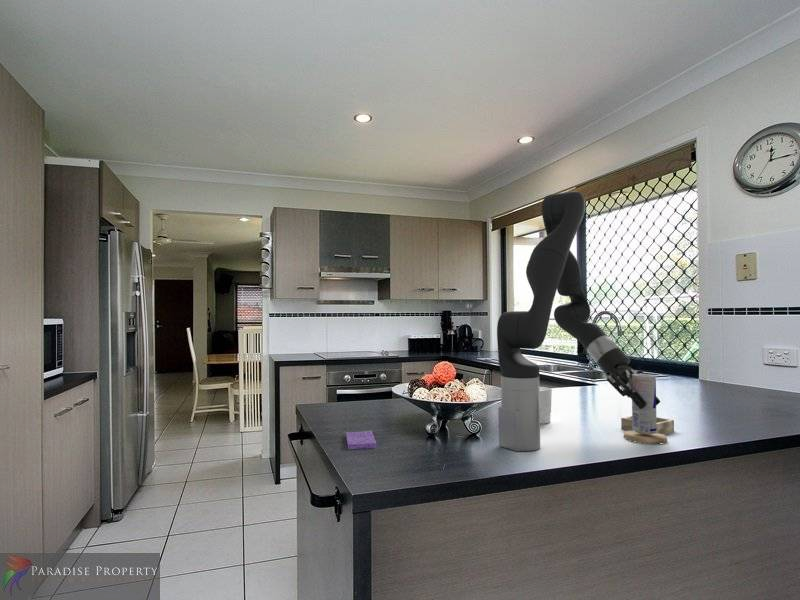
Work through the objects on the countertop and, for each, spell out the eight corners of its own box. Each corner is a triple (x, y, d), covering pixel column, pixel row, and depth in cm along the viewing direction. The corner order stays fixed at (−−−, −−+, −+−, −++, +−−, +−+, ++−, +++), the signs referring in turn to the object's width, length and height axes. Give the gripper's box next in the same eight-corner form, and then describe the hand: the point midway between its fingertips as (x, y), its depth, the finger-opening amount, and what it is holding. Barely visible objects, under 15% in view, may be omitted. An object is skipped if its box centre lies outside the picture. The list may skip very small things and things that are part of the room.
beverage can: (661, 435, 119) (660, 375, 120) (638, 435, 119) (637, 375, 120) (649, 429, 125) (648, 373, 125) (628, 429, 125) (627, 373, 125)
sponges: (348, 451, 113) (347, 443, 113) (345, 438, 126) (345, 431, 126) (376, 450, 115) (376, 442, 115) (371, 437, 127) (371, 430, 127)
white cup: (546, 425, 137) (546, 391, 137) (521, 422, 142) (520, 388, 142) (555, 420, 143) (555, 387, 143) (531, 417, 148) (530, 385, 148)
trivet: (653, 446, 115) (653, 442, 115) (615, 437, 123) (615, 433, 123) (674, 440, 120) (674, 436, 120) (637, 432, 129) (637, 428, 129)
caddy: (655, 435, 125) (654, 424, 125) (621, 428, 133) (621, 418, 133) (674, 431, 130) (673, 420, 130) (640, 424, 138) (640, 414, 138)
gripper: (600, 347, 125) (645, 399, 115) (631, 345, 133) (675, 394, 122) (583, 365, 129) (625, 417, 119) (614, 362, 137) (656, 410, 127)
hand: (650, 405), depth 121 cm, fingers closed on beverage can, 5 cm apart
